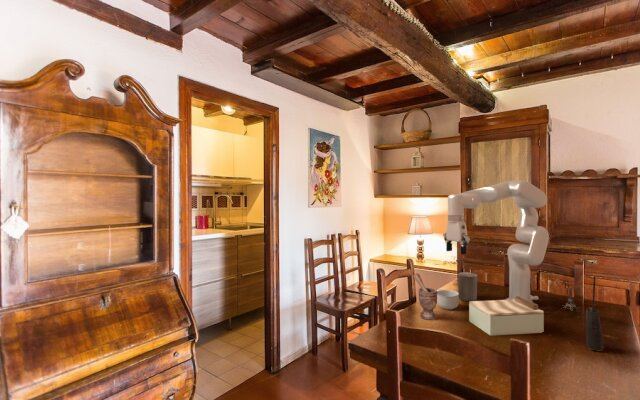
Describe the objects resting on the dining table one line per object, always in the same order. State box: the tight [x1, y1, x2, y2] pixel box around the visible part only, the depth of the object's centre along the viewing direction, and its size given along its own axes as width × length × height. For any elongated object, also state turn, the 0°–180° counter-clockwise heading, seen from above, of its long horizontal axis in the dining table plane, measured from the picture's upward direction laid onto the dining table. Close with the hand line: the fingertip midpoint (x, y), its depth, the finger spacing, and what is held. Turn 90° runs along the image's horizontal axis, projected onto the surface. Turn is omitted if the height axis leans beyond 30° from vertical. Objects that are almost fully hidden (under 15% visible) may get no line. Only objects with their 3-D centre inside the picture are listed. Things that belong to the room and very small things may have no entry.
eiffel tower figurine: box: [563, 285, 579, 311], centre depth 170 cm, size 15×10×13 cm
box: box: [468, 303, 545, 337], centre depth 149 cm, size 24×16×8 cm, turn 96°
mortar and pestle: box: [413, 273, 438, 321], centre depth 161 cm, size 12×9×20 cm
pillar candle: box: [457, 271, 478, 302], centre depth 188 cm, size 10×10×15 cm
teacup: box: [437, 288, 460, 311], centre depth 175 cm, size 14×11×8 cm
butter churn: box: [585, 275, 605, 350], centre depth 128 cm, size 9×10×28 cm
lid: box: [468, 297, 545, 316], centre depth 149 cm, size 24×16×3 cm, turn 96°
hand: (456, 252), depth 170 cm, fingers open, 9 cm apart
